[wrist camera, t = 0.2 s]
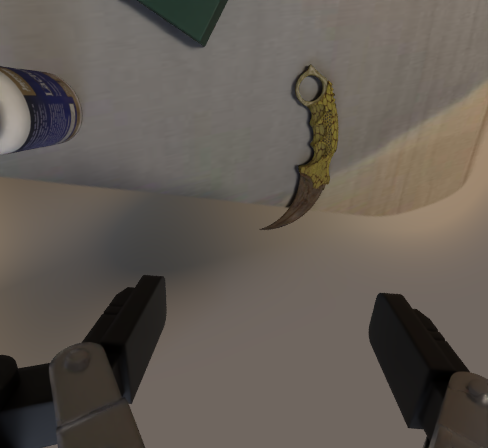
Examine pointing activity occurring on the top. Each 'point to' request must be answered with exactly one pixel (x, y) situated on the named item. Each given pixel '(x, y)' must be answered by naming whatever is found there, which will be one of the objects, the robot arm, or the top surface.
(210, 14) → the button block
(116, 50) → the top surface
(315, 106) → the knife
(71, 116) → the pill bottle
